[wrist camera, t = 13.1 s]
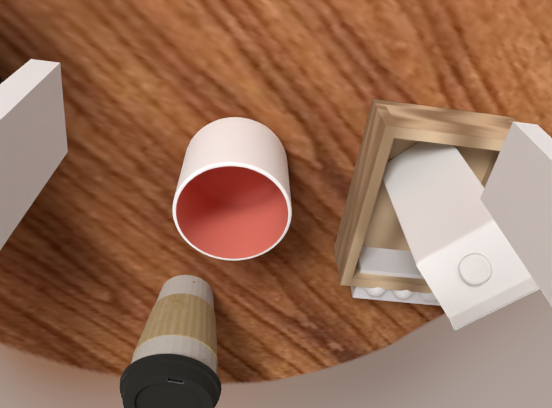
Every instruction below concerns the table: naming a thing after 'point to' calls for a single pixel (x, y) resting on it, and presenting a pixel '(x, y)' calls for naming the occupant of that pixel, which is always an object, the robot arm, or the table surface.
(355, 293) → the egg box
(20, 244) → the table surface
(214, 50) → the table surface
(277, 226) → the cup
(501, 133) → the crate
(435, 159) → the milk carton
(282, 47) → the table surface
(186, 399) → the coffee cup
